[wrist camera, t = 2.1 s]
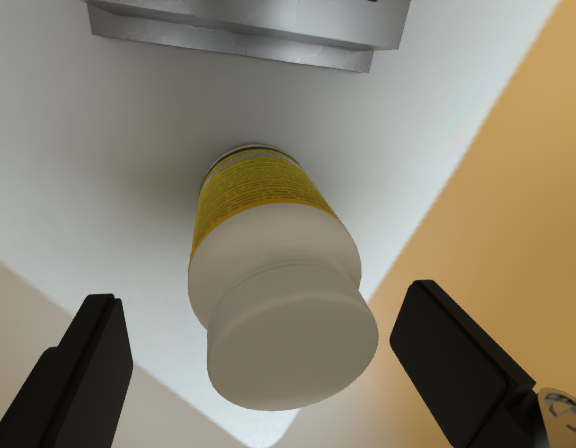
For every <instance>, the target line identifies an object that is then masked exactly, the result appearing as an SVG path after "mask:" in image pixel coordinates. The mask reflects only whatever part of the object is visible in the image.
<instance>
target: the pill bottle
mask: <svg viewBox="0 0 576 448" xmlns="http://www.w3.org/2000/svg"><path fill="white" fill-rule="evenodd" d="M360 280H361V260H360V256H359V252H358V249H357V247H356V244H355V242H354V240H353V238H352V237H351V235H350V233H349V232H348V231H347V229H346V228H345V226H344V225H343V224H342V222H341V221H340V220H339V218H338V217H337V215H336V214H335V213H334V211H333V210H332V209H331V207H330V206H329V205H328V203H327V202H326V201H325V199H324V198H323V197H322V195H321V194H320V192H319V191H318V189H317V188H316V187H315V185H314V184H313V182H312V181H311V180H310V178H309V177H308V176H307V174H306V173H305V171H304V170H303V169H302V167H301V166H300V165H299V164H298V163H297V161H296V160H295V159H294V158H292V157H291V156H290V155H289V154H287V153H286V152H284V151H282V150H280V149H278V148H275V147H272V146H268V145H260V144H252V145H245V146H241V147H237V148H235V149H232V150H230V151H228V152H226V153H225V154H223V155H222V156H220V157H219V158H218V159H217V160H216V161H215V162H214V163H213V164H212V165H211V167H210V168H209V169H208V171H207V173H206V175H205V177H204V179H203V182H202V185H201V189H200V194H199V201H198V210H197V216H196V223H195V231H194V237H193V245H192V251H191V255H190V263H189V269H188V294H189V298H190V303H191V306H192V309H193V311H194V313H195V315H196V316H197V318H198V320H199V321H200V323H201V324H202V325H203V326H204V328H205V329H206V330H207V370H208V375H209V378H210V381H211V383H212V385H213V387H214V388H215V390H216V391H217V392H218V393H219V394H220V395H221V396H222V397H224V398H225V399H226V400H228V401H230V402H231V403H233V404H236V405H238V406H241V407H244V408H248V409H253V410H261V411H283V410H291V409H296V408H301V407H305V406H308V405H311V404H314V403H317V402H319V401H322V400H324V399H326V398H328V397H331V396H333V395H335V394H336V393H338V392H340V391H341V390H343V389H344V388H346V387H347V386H348V385H350V384H351V383H352V382H353V381H354V380H356V378H357V377H359V376H360V375H361V374H362V373H363V371H364V370H365V369H366V368H367V366H368V365H369V363H370V362H371V360H372V358H373V357H374V354H375V352H376V349H377V345H378V328H377V324H376V321H375V319H374V316H373V315H372V313H371V311H370V309H369V307H368V306H367V304H366V302H365V301H364V299H363V297H362V296H361V294H360V292H359V291H358V289H359V286H360Z"/></svg>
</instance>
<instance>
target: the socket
mask: <svg viewBox="0 0 576 448" xmlns="http://www.w3.org/2000/svg"><path fill="white" fill-rule="evenodd" d="M81 1H83V2H85V3H87V6H88V12H89V18H90V24H91V30H92V34H93V35H98V36H105V37H112V38H119V39H126V40H134V41H141V42H148V43H155V44H162V45H170V46H177V47H184V48H191V49H198V50H206V51H213V52H220V53H227V54H235V55H242V56H249V57H256V58H263V59H271V60H278V61H285V62H292V63H299V64H307V65H314V66H321V67H328V68H335V69H343V70H350V71H357V72H365V73H369V70H370V65H371V61H372V56H373V52H374V51H377V50H395V49H398V48H399V44H400V40H401V36H402V32H403V28H404V25H405V21H406V17H407V13H408V9H409V5H410V1H411V0H81Z"/></svg>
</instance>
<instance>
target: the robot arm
mask: <svg viewBox="0 0 576 448" xmlns="http://www.w3.org/2000/svg"><path fill="white" fill-rule="evenodd" d="M390 345H391V348H392V350H393V351H394V353H395V354H396V356H397V358H398V359H399V361H400V363H401V364H402V366H403V368H404V369H405V371H406V373H407V374H408V376H409V377H410V379H411V381H412V382H413V384H414V386H415V387H416V389H417V390H418V392H419V394H420V395H421V397H422V399H423V400H424V402H425V404H426V405H427V407H428V408H429V410H430V412H431V413H432V415H433V417H434V418H435V420H436V421H437V423H438V425H439V426H440V428H441V430H442V431H443V433H444V435H445V436H446V438H447V439H448V441H449V443H450V444H451V445H452V446H453V447H454V448H576V398H575V397H573V396H571V395H569V394H567V393H566V392H564V391H560V390H558V389H555V388H543V389H540V390H539V392H538V393H537V394H536V393H535V392H534V391H533V390H532V388H533V387H534V385H535V384H536V382H535V381H534V380H533V379H532V378H531V377H530V376H529V375H528V374H527V373H526V372H525V371H524V370H523V369H522V368H521V367H520V366H519V365H518V364H517V363H516V362H515V361H514V360H513V359H512V358H511V357H510V356H509V355H508V354H507V353H506V352H505V351H504V350H503V349H502V348H501V347H500V346H499V345H498V344H497V343H496V342H495V341H494V340H493V339H492V338H491V337H490V336H489V335H488V334H487V333H486V332H485V331H484V330H483V329H482V328H481V327H480V326H479V325H478V324H477V323H476V322H475V321H474V320H473V319H472V318H471V317H470V316H469V315H468V314H467V313H466V312H465V311H464V310H463V309H462V308H461V307H460V306H459V305H457V303H456V302H455V301H454V300H453V299H452V298H451V297H450V296H449V295H448V294H447V293H446V292H445V291H444V290H443V289H442V288H441V287H440V286H439V285H438V284H437V283H436V282H435V281H433V280H415V281H414V282H413V283H412V285H410V286H409V288H408V291H407V293H406V296H405V298H404V301H403V304H402V306H401V309H400V312H399V314H398V317H397V320H396V322H395V325H394V327H393V330H392V333H391V335H390ZM132 370H133V360H132V354H131V349H130V343H129V338H128V333H127V327H126V322H125V317H124V311H123V306H122V301H121V299H120V298H116V299H115V297H114V295H113V294H90V295H88V296H87V297H86V298H85V300H84V302H83V303H82V305H81V307H80V309H79V310H78V312H77V314H76V316H75V317H74V319H73V321H72V322H71V324H70V326H69V328H68V329H67V331H66V333H65V334H64V336H63V338H62V340H61V342H60V343H59V345H58V346H57V347H50V348H48V349H47V350H46V351H44V353H43V354H42V355H41V357H40V358H39V360H38V362H37V363H36V365H35V366H34V368H33V370H32V371H31V373H30V374H29V376H28V378H27V379H26V381H25V382H24V384H23V386H22V387H21V389H20V391H19V392H18V394H17V396H16V397H15V399H14V400H13V402H12V403H11V405H10V407H9V408H8V410H7V412H6V413H5V415H4V416H3V418H2V420H1V421H0V448H111V445H112V442H113V438H114V435H115V431H116V428H117V424H118V421H119V417H120V414H121V410H122V407H123V403H124V400H125V396H126V393H127V389H128V386H129V382H130V379H131V375H132Z"/></svg>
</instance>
